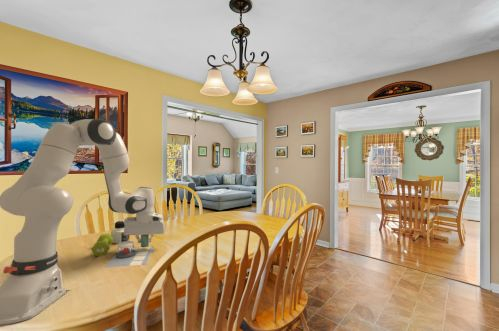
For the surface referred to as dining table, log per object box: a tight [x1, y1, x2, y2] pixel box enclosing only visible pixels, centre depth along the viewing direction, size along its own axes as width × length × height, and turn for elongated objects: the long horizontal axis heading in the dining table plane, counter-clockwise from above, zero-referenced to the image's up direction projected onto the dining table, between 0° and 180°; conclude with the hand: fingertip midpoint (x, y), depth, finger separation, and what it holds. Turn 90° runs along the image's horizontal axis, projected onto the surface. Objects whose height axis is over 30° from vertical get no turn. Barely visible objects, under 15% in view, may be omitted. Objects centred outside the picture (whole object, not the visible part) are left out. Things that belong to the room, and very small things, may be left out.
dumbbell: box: [91, 233, 113, 257], centre depth 126 cm, size 16×8×7 cm, turn 22°
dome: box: [116, 240, 135, 253], centre depth 119 cm, size 7×7×3 cm
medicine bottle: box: [110, 220, 130, 245], centre depth 140 cm, size 7×7×12 cm
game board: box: [104, 246, 155, 268], centre depth 118 cm, size 23×17×4 cm
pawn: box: [140, 234, 150, 248], centre depth 128 cm, size 4×4×6 cm
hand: (144, 242), depth 127 cm, fingers closed on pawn, 4 cm apart
